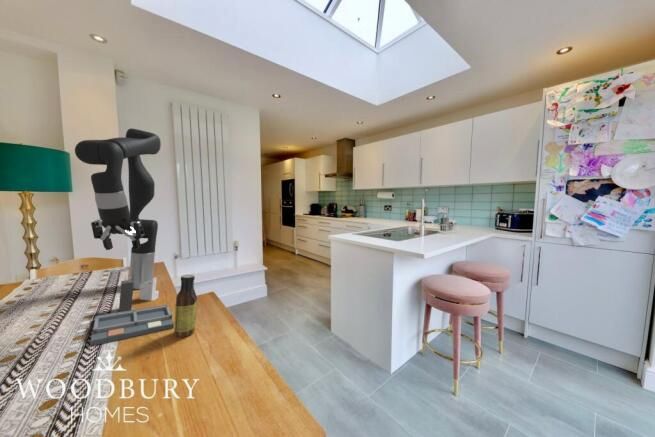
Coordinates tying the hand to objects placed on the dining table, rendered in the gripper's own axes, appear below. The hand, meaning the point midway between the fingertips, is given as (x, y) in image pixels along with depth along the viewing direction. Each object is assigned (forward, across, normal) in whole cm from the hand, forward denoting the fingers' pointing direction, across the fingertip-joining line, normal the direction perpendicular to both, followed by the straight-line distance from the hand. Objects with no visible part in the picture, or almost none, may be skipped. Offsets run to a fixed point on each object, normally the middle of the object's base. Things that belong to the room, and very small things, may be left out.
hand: (123, 249), depth 81 cm
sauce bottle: (+25, -22, +14) cm, 37 cm away
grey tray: (+25, -4, +9) cm, 27 cm away
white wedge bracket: (+31, +4, -12) cm, 33 cm away
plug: (+27, +6, -2) cm, 28 cm away
